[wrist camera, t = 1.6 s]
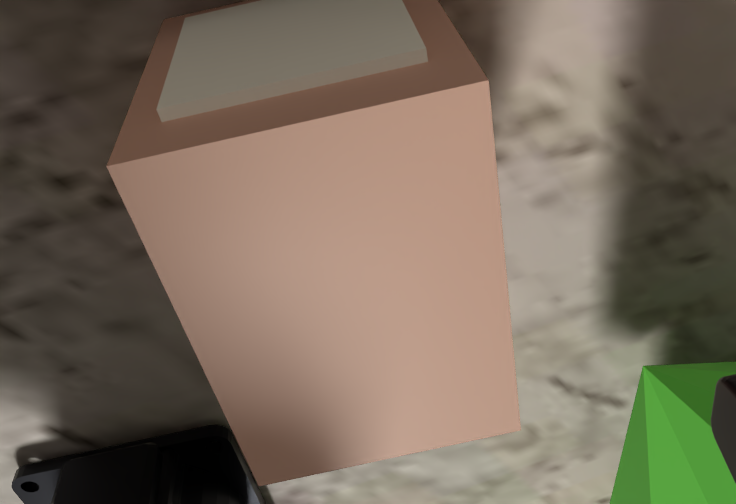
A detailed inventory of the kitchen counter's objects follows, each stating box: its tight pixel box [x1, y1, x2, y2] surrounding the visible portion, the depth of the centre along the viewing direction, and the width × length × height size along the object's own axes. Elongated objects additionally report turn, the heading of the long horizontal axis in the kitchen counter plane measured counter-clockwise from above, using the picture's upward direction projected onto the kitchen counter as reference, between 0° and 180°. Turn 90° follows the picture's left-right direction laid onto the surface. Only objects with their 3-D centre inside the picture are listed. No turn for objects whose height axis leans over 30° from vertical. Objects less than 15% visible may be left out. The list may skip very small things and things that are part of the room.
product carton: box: [106, 0, 521, 486], centre depth 13 cm, size 7×5×6 cm
